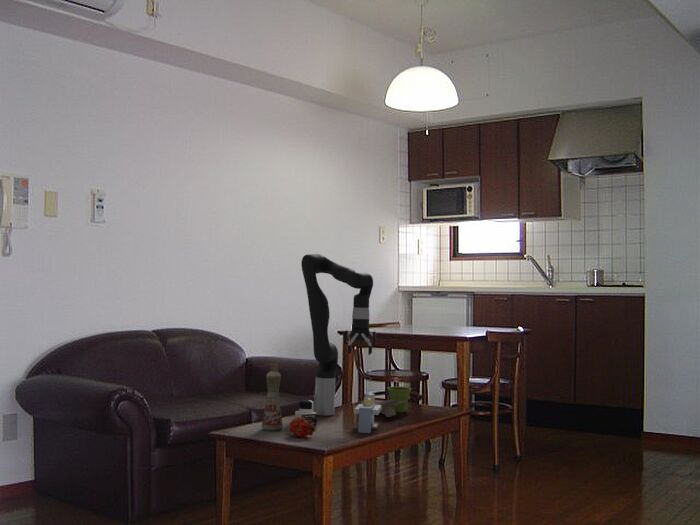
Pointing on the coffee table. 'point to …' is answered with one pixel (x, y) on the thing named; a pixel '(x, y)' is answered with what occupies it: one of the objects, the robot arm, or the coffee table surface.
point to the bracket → (365, 418)
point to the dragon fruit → (301, 427)
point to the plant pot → (399, 397)
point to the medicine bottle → (307, 412)
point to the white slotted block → (389, 407)
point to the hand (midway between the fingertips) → (359, 354)
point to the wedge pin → (367, 401)
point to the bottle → (272, 401)
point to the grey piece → (374, 411)
